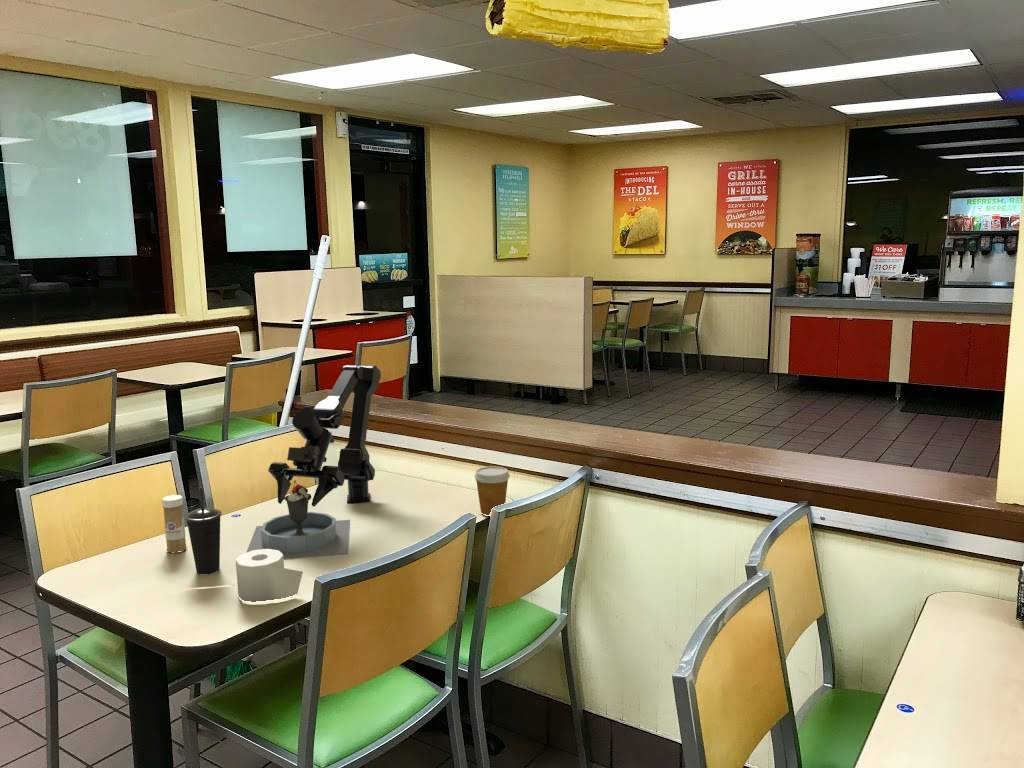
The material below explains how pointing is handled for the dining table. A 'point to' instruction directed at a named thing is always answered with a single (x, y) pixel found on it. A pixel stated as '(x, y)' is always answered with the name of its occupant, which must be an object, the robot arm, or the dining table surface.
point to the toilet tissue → (265, 576)
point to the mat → (332, 549)
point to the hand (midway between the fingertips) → (296, 504)
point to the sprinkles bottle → (174, 523)
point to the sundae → (298, 507)
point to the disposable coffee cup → (491, 487)
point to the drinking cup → (205, 537)
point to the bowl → (282, 527)
